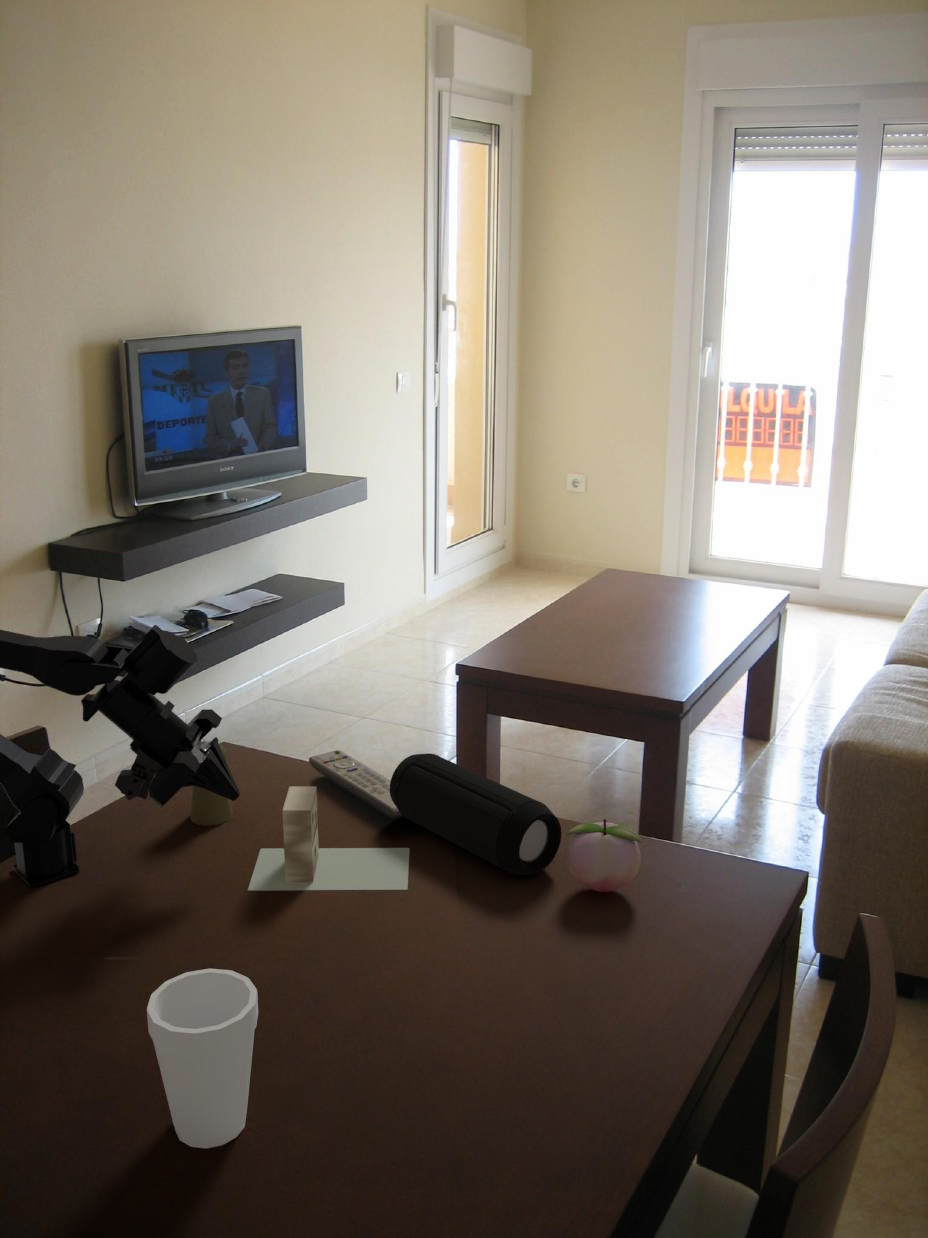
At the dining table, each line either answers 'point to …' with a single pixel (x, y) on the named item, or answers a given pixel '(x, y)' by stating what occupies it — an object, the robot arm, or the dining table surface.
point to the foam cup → (205, 1051)
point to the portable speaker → (476, 813)
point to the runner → (337, 870)
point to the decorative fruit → (603, 855)
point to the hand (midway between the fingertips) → (237, 797)
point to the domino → (300, 834)
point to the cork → (210, 805)
